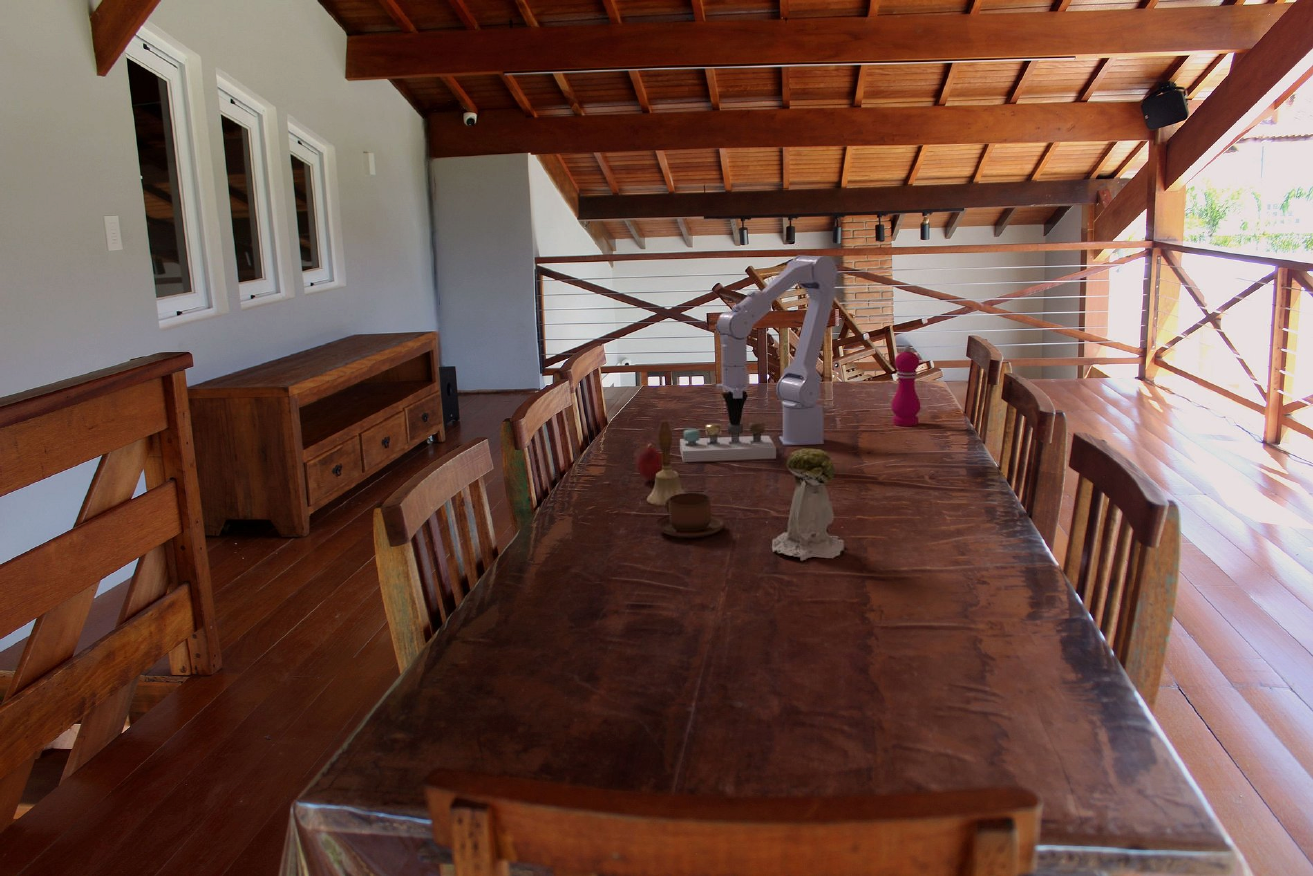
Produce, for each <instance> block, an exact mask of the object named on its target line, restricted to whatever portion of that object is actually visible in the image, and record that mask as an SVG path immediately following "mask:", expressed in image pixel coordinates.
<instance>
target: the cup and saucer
mask: <svg viewBox="0 0 1313 876" xmlns="http://www.w3.org/2000/svg"><path fill="white" fill-rule="evenodd" d="M711 502H712V501H711V497H710V496H709V495H707V494H704V493H697V492H696V493H695V492H688V493H687V492H685V493H684V494H678V495H674V496H672V497H670V498H669V499H667V501H666V504H665V506H664V507H665V509H666V511H667V513H668V514H667V515H664V516H661V517H659V519H657V520H656V522H655V523H656V527H657V529H658V530H659V531H660V532H662V533H663V534H664V535H667V536H670V537H675V538H681V539H682V538H683V539H692V538H693V539H695V538H702V537H707V536H710V535H714V534H715V533H718V532H719V531H721V529H723V527H724V525H725V519H724V518H723V517H721V515H718V514H713V513H712V511H711V510H712V509H711V507H712V506H711V504H712V503H711Z"/></svg>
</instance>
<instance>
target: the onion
mask: <svg viewBox="0 0 1313 876" xmlns="http://www.w3.org/2000/svg"><path fill="white" fill-rule="evenodd" d="M662 466H663V465H662V453H660V452H659V451H658V450H657V449H655V448H654V445H653V444H652V443H649V444H647V446H646V447H645V449H644V450H642V451H641V452H640V454H639V455H638V456H637V459H636V469H637V471H638V473H639V475H640V476H641V477H642V478H644V479H645V480H647V481H649V482H653V481H654V482H655V479H656V474H657V473H658V472H660V471H661V470H662V469H663V468H662Z"/></svg>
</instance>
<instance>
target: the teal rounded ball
mask: <svg viewBox="0 0 1313 876" xmlns="http://www.w3.org/2000/svg"><path fill="white" fill-rule="evenodd" d="M700 436H701V435H700V430H699V429H695V428H694V429H692V428H691V429H686V430H683V439H684V440H685V441H688V446H696V441H698V440H700V438H701V437H700Z"/></svg>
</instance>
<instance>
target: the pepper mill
mask: <svg viewBox="0 0 1313 876" xmlns="http://www.w3.org/2000/svg"><path fill="white" fill-rule="evenodd" d="M911 350H912V348H911V346H909V345H905V346H904V347H903V351H902V352H900V353H898V354H897V355H896V357H895V358H894V366H895V368H896V369H897V371H896V377H897V379H898V385H897V386H898V387H897V390H896V392H895V395H894V397H893V399H892V401H891V405H890V406H891V407H890V408H891V409H890V410H891V411H892V412H893V413H894V416H893V417H892V424H893V425H895V426H898V425H902V426H901V427H912V426H911V425H915V426H918V424H919V417H918V415H917V414H919V412H920V411H921V401H920V399H919V397H918V393H917V390H916V387H915V386H916V385H915V383H916V378H917V377H918V375H917V374H918V371H917V369H918V368H919V365H920V358H919V357H918V355H917V353H915V352H911Z"/></svg>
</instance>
